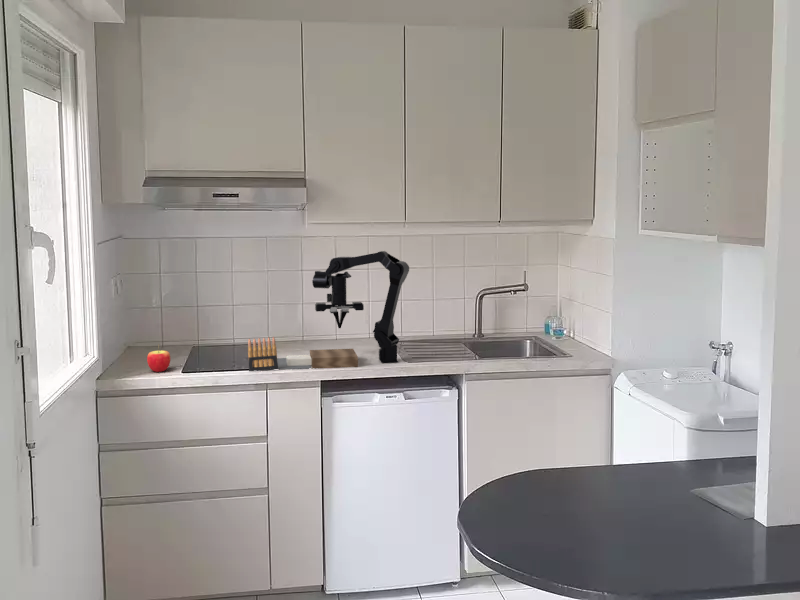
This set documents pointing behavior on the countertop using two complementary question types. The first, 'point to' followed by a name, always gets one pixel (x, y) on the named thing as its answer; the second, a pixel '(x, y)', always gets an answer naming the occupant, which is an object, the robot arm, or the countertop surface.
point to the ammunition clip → (262, 355)
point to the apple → (158, 360)
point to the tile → (298, 360)
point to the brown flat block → (334, 358)
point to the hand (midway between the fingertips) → (339, 328)
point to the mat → (283, 365)
